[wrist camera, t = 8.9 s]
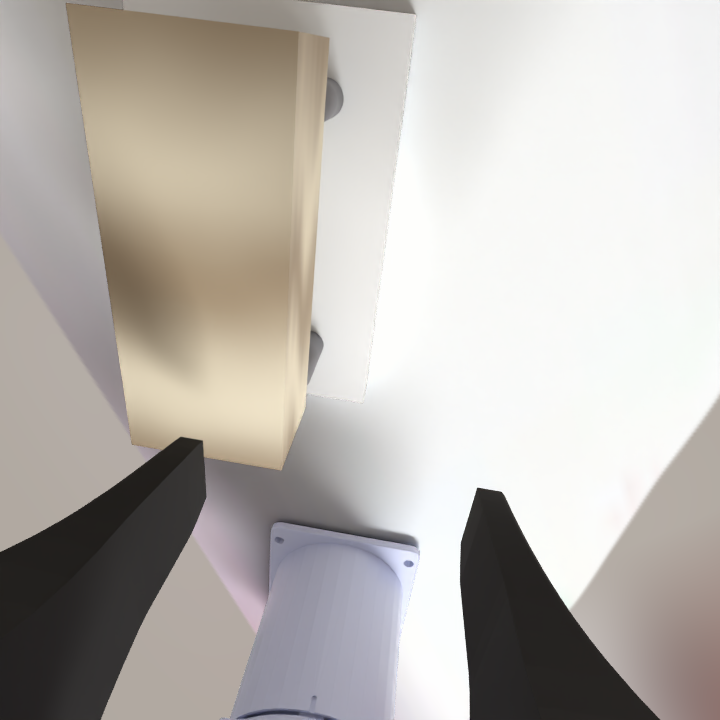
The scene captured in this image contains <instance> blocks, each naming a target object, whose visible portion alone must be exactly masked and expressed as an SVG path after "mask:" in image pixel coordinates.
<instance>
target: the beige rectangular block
mask: <svg viewBox="0 0 720 720" xmlns="http://www.w3.org/2000/svg"><path fill="white" fill-rule="evenodd" d="M66 9H67V15H68V22H69V29H70V35H71V42H72V49H73V56H74V62H75V69H76V76H77V82H78V89H79V96H80V102H81V109H82V116H83V122H84V129H85V136H86V142H87V149H88V156H89V162H90V169H91V176H92V182H93V189H94V196H95V202H96V209H97V216H98V222H99V229H100V236H101V242H102V249H103V256H104V262H105V269H106V276H107V282H108V289H109V296H110V302H111V309H112V316H113V322H114V329H115V336H116V342H117V349H118V356H119V362H120V369H121V376H122V382H123V389H124V396H125V402H126V409H127V416H128V422H129V429H130V436H131V442H132V445H137V446H143V447H148V448H154V449H160V450H163V449H165V448H166V447H167V446H168V445H170V444H171V443H172V442H174V441H175V440H177V439H178V438H179V437H186V438H192V439H197V440H203V449H204V457H206V458H212V459H217V460H223V461H229V462H235V463H240V464H246V465H252V466H258V467H263V468H269V469H275V470H282V468H283V465H284V462H285V460H286V457H287V455H288V452H289V449H290V447H291V444H292V442H293V439H294V436H295V434H296V431H297V429H298V426H299V423H300V421H301V418H302V416H303V413H304V410H305V406H306V391H307V376H308V361H309V345H310V330H311V315H312V300H313V284H314V269H315V254H316V238H317V223H318V208H319V193H320V177H321V162H322V147H323V132H324V116H325V101H326V86H327V71H328V55H329V40H330V38H328V37H323V36H318V35H313V34H309V33H304V32H299V31H291V30H283V29H275V28H267V27H258V26H250V25H242V24H234V23H226V22H218V21H209V20H201V19H193V18H185V17H177V16H169V15H161V14H152V13H144V12H136V11H128V10H120V9H112V8H104V7H95V6H87V5H79V4H71V3H66Z"/></svg>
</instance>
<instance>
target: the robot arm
mask: <svg viewBox="0 0 720 720" xmlns="http://www.w3.org/2000/svg"><path fill="white" fill-rule="evenodd" d="M205 499H206V483H205V466H204V449H203V440H197V439H192V438H186V437H179V438H178V439H177V440H175V441H174V442H172V443H171V444H170V445H168V446H167V447H166V448H165V449H163V450H162V451H161V452H159V453H158V454H157V455H155V456H154V457H153V458H151V459H150V460H149V461H147V462H146V463H145V464H144V465H142V466H141V467H140V468H138V469H137V470H136V471H134V472H133V473H132V474H130V475H129V476H127V477H126V478H125V479H123V480H122V481H120V482H119V483H118V484H116V485H115V486H114V487H112V488H111V489H109V490H108V491H106V492H105V493H103V494H102V495H100V496H99V497H97V498H96V499H94V500H93V501H91V502H90V503H88V504H87V505H85V506H84V507H82V508H81V509H79V510H78V511H76V512H74V513H73V514H71V515H69V516H68V517H66V518H64V519H63V520H61V521H59V522H58V523H56V524H54V525H52V526H51V527H49V528H47V529H45V530H43V531H41V532H40V533H38V534H36V535H34V536H32V537H30V538H28V539H26V540H24V541H22V542H20V543H18V544H16V545H14V546H12V547H10V548H8V549H6V550H4V551H2V552H0V720H101V717H102V715H103V712H104V710H105V707H106V705H107V702H108V700H109V697H110V695H111V693H112V690H113V688H114V686H115V683H116V681H117V678H118V676H119V674H120V671H121V669H122V667H123V664H124V662H125V660H126V658H127V655H128V653H129V651H130V648H131V646H132V644H133V642H134V639H135V637H136V635H137V633H138V630H139V628H140V626H141V624H142V622H143V620H144V618H145V616H146V614H147V612H148V610H149V609H150V607H151V605H152V603H153V601H154V600H155V598H156V596H157V594H158V593H159V590H160V589H161V587H162V585H163V584H164V582H165V580H166V578H167V577H168V575H169V573H170V571H171V569H172V568H173V566H174V564H175V562H176V560H177V559H178V557H179V555H180V553H181V552H182V550H183V548H184V546H185V544H186V543H187V541H188V539H189V537H190V535H191V533H192V531H193V529H194V527H195V524H196V522H197V519H198V517H199V515H200V512H201V509H202V507H203V504H204V502H205ZM280 537H281V538H280ZM419 559H420V551H419V549H418V548H416V547H414V546H411V545H405V544H400V543H394V542H389V541H383V540H378V539H372V538H366V537H361V536H355V535H350V534H344V533H339V532H333V531H328V530H322V529H316V528H311V527H305V526H300V525H294V524H289V523H283V522H277V523H274V524H273V526H272V529H271V536H270V572H269V597H268V600H267V603H266V606H265V610H264V613H263V616H262V619H261V622H260V625H259V628H258V632H257V635H256V638H255V641H254V644H253V647H252V651H251V654H250V657H249V660H248V663H247V666H246V669H245V673H244V676H243V679H242V682H241V685H240V688H239V691H238V694H237V698H236V701H235V704H234V707H233V710H232V713H231V717H230V719H229V718H221V719H220V720H394V714H395V699H396V685H397V670H398V655H399V641H400V636H401V632H402V628H403V624H404V620H405V616H406V612H407V607H408V603H409V599H410V595H411V591H412V587H413V583H414V579H415V575H416V571H417V567H418V563H419ZM407 560H409V561H407ZM460 586H461V597H462V608H463V619H464V629H465V639H466V650H467V660H468V670H469V688H470V720H660V719H659V718H658V717H657V716H656V715H655V714H654V713H653V712H652V711H651V710H650V709H649V708H648V706H646V705H645V703H644V702H643V701H642V700H641V699H640V698H639V697H638V696H637V695H636V694H635V693H634V691H633V690H632V689H631V688H630V687H629V686H628V684H627V683H626V682H625V681H624V680H623V679H622V678H621V676H620V675H619V674H618V673H617V672H616V671H615V670H614V668H613V667H612V666H611V665H610V664H609V663H608V661H607V660H606V659H605V658H604V657H603V655H602V654H601V653H600V651H599V650H598V649H597V648H596V646H595V645H594V644H593V643H592V641H591V640H590V639H589V637H588V636H587V635H586V633H585V632H584V631H583V629H582V628H581V627H580V625H579V624H578V623H577V621H576V620H575V618H574V617H573V615H572V614H571V613H570V611H569V610H568V608H567V607H566V605H565V604H564V602H563V601H562V599H561V598H560V596H559V595H558V593H557V592H556V590H555V588H554V587H553V585H552V584H551V582H550V580H549V579H548V577H547V576H546V574H545V572H544V571H543V569H542V567H541V565H540V564H539V562H538V560H537V558H536V557H535V555H534V553H533V551H532V550H531V548H530V546H529V544H528V542H527V540H526V539H525V537H524V535H523V533H522V531H521V529H520V527H519V525H518V523H517V521H516V519H515V517H514V515H513V513H512V511H511V509H510V507H509V504H508V502H507V500H506V498H505V496H504V495H503V493H502V492H499V491H494V490H488V489H482V488H477V491H476V494H475V497H474V501H473V504H472V507H471V511H470V514H469V517H468V521H467V524H466V527H465V531H464V534H463V537H462V541H461V557H460Z"/></svg>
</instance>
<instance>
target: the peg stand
mask: <svg viewBox="0 0 720 720" xmlns="http://www.w3.org/2000/svg"><path fill="white" fill-rule="evenodd" d="M122 2H123V10H128V11H136V12H144V13H152V14H161V15H169V16H177V17H185V18H193V19H201V20H209V21H218V22H226V23H234V24H242V25H250V26H258V27H267V28H275V29H283V30H291V31H299V32H304V33H309V34H313V35H318V36H323V37H328V38H330V40H329V55H328V71H327V86H326V101H325V116H324V132H323V147H322V162H321V177H320V193H319V208H318V223H317V238H316V254H315V269H314V284H313V300H312V315H311V330H310V345H309V361H308V376H307V391H306V394H308V395H314V396H320V397H326V398H332V399H338V400H344V401H351V402H357V403H363V401H364V397H365V392H366V386H367V379H368V371H369V364H370V356H371V349H372V342H373V334H374V327H375V319H376V312H377V305H378V297H379V290H380V283H381V275H382V268H383V260H384V253H385V246H386V238H387V231H388V223H389V216H390V209H391V201H392V194H393V187H394V179H395V172H396V164H397V157H398V150H399V142H400V135H401V127H402V120H403V113H404V105H405V98H406V91H407V83H408V76H409V68H410V61H411V54H412V46H413V39H414V31H415V24H416V15H415V14H408V13H400V12H392V11H383V10H375V9H366V8H358V7H350V6H341V5H333V4H324V3H316V2H308V1H299V0H122Z"/></svg>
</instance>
